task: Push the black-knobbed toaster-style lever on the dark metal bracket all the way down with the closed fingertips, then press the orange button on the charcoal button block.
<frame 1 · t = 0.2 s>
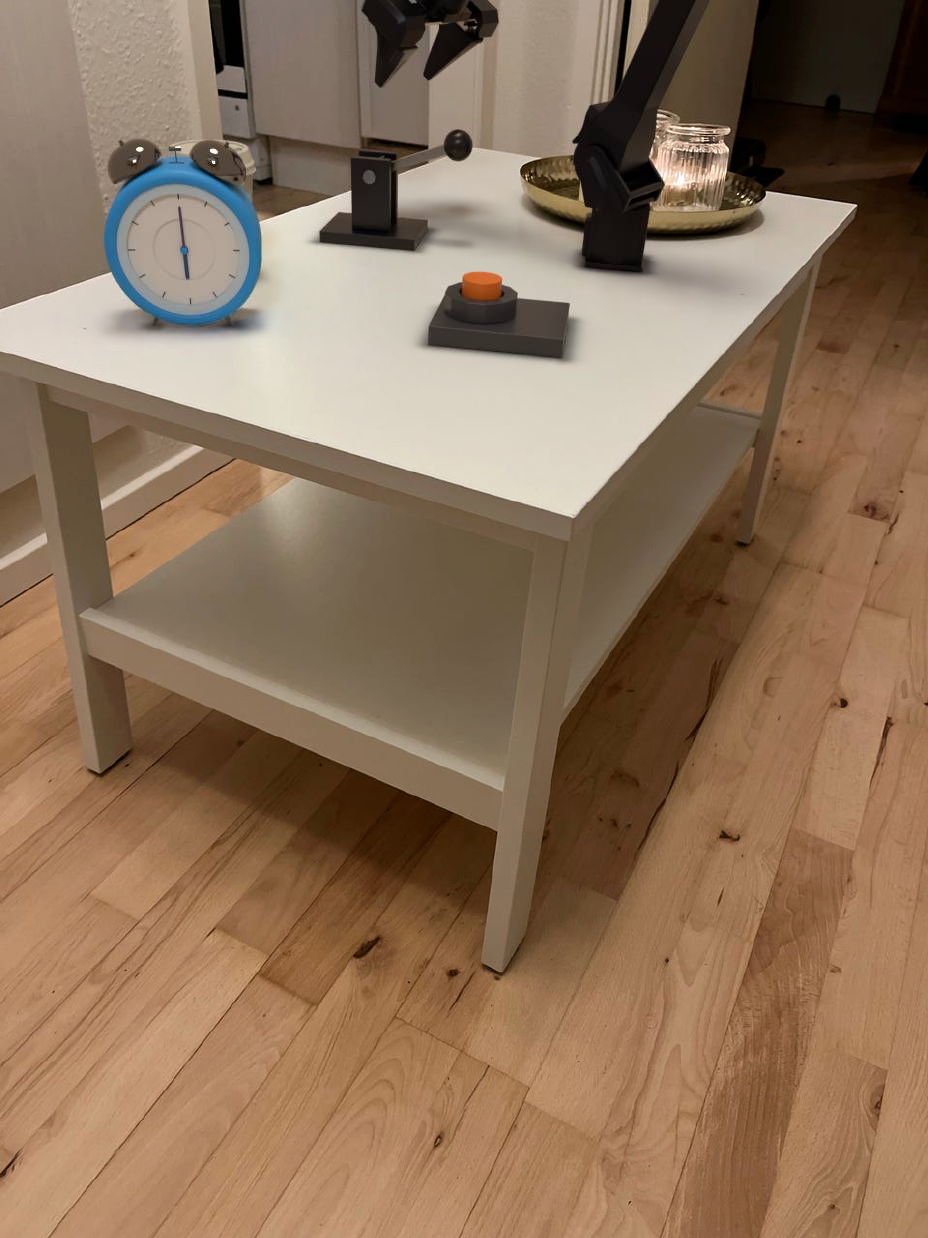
hand: (402, 81, 117), 15 cm above the table, tool tilted 30°, fingers open, 9 cm apart
coffee cup: (221, 275, 101), on the table
bracket: (375, 235, 116), on the table
button block: (500, 331, 92), on the table
alarm clock: (194, 319, 91), on the table
button: (481, 287, 89), point 4 cm above the table, slide at 0.1 cm
lever: (416, 158, 110), point 9 cm above the table, hinge at 20.0°
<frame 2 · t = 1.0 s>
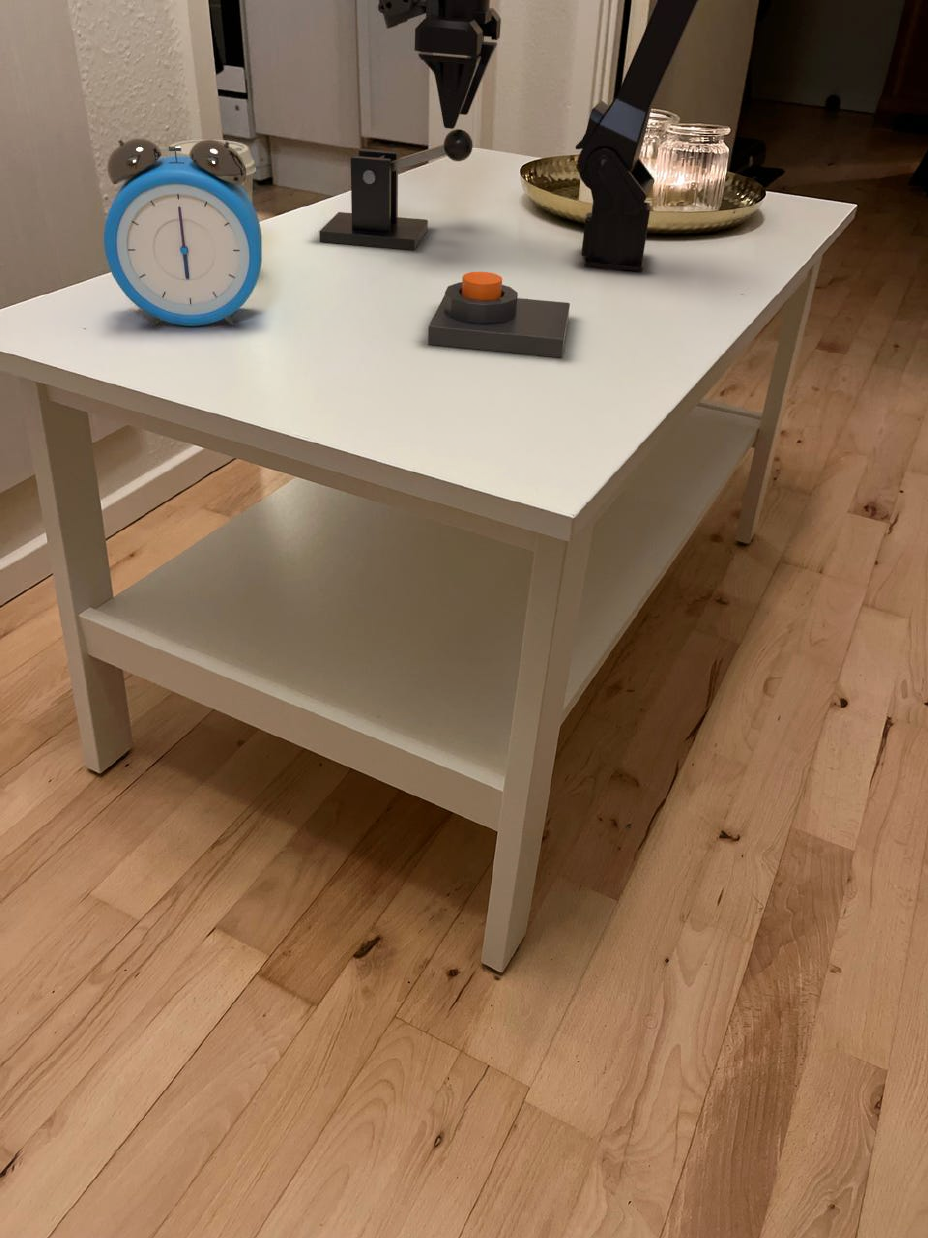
hand: (456, 120, 108), 13 cm above the table, tool pointing down, fingers open, 9 cm apart
nothing on the table moved.
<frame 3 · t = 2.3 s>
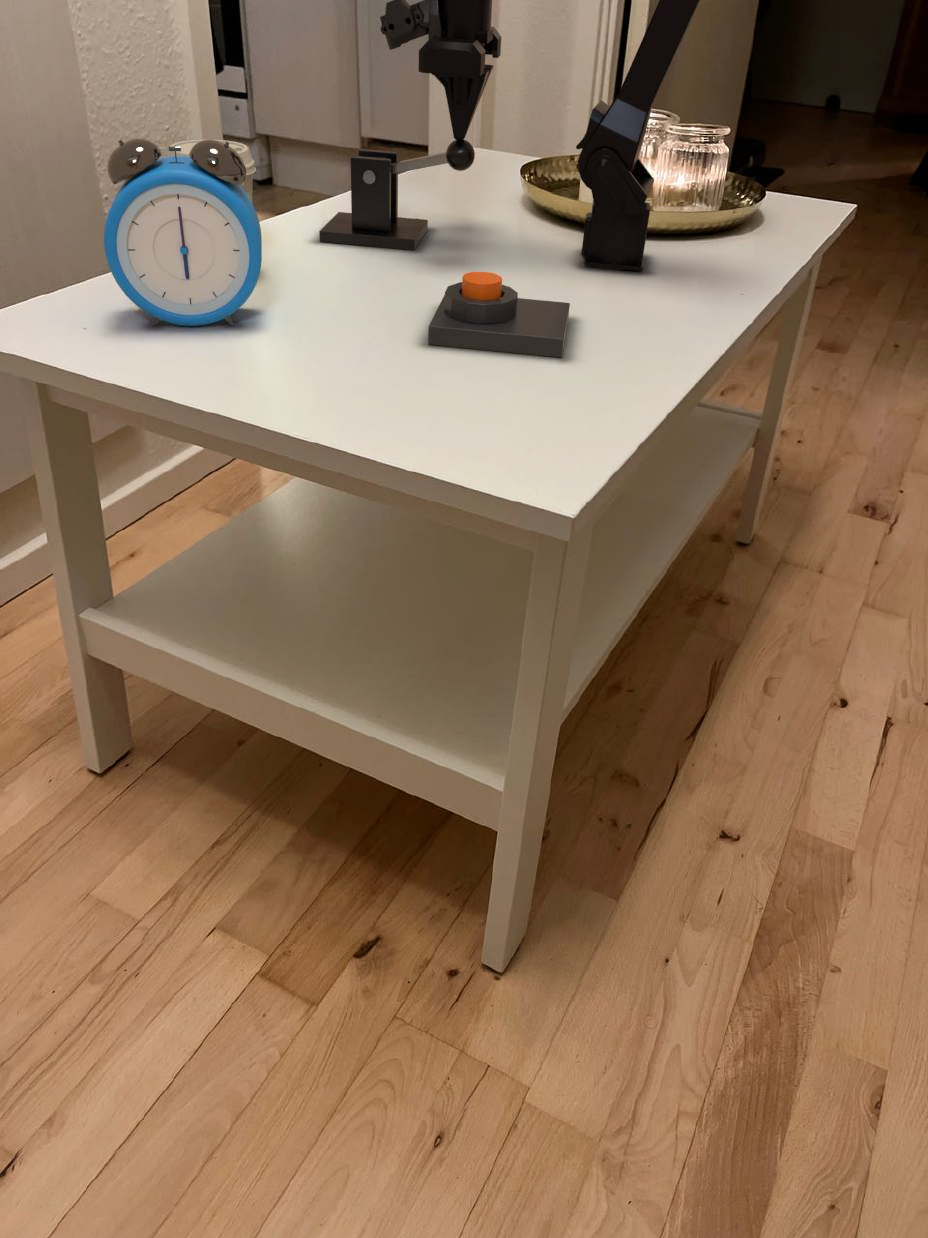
hand: (459, 138, 108), 11 cm above the table, tool pointing down, fingers closed
lever: (418, 163, 110), point 8 cm above the table, hinge at 14.2°
everything else where it was.
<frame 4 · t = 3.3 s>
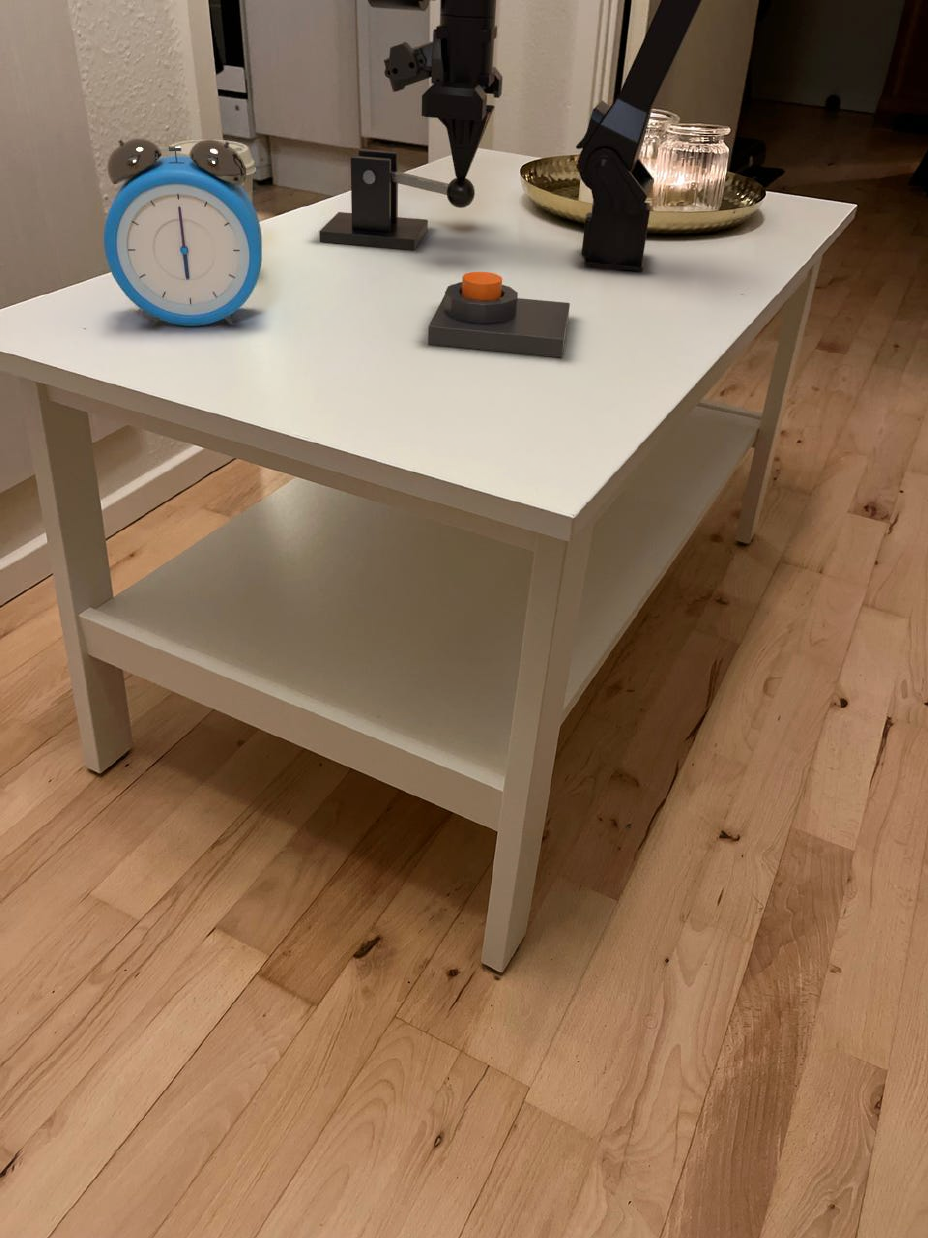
hand: (461, 177, 111), 7 cm above the table, tool pointing down, fingers closed, pressing on lever
lever: (418, 182, 112), point 6 cm above the table, hinge at -8.3°, touching gripper
everything else where it was.
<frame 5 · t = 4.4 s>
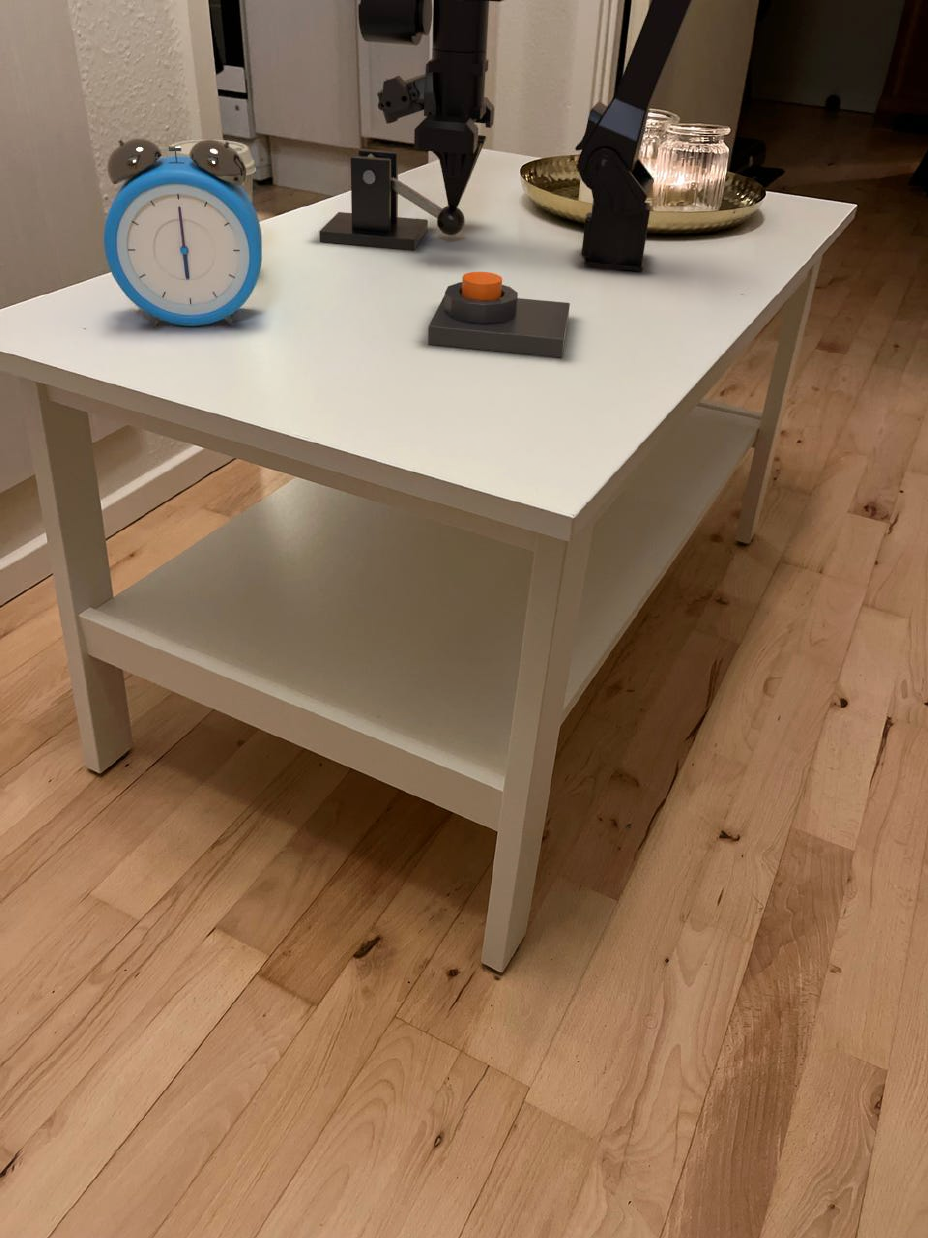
hand: (453, 205, 112), 4 cm above the table, tool pointing down, fingers closed, pressing on lever
lever: (413, 196, 113), point 5 cm above the table, hinge at -27.1°, touching gripper
everything else where it was.
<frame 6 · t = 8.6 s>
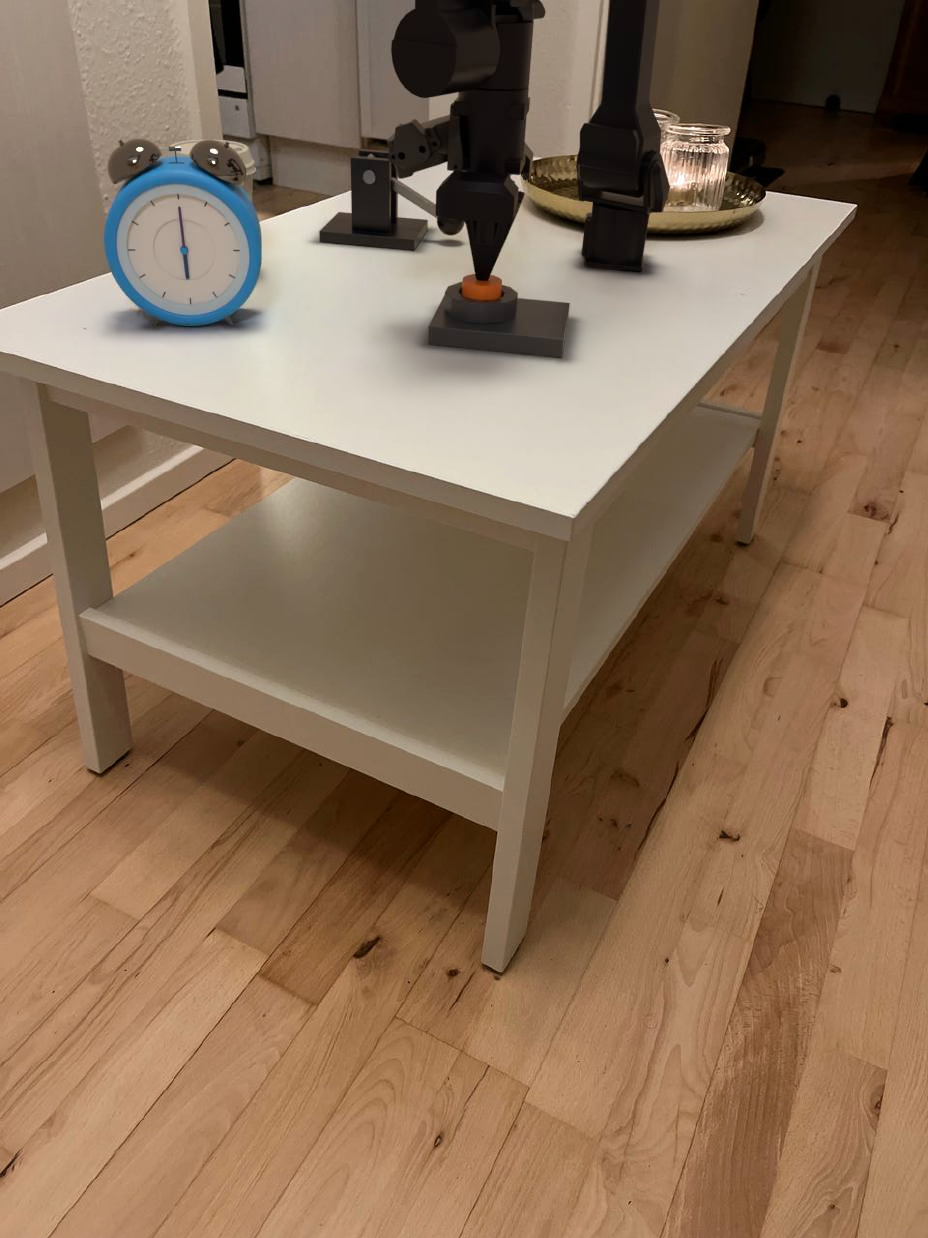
hand: (482, 279, 89), 5 cm above the table, tool pointing down, fingers closed, pressing on button
button: (481, 289, 90), point 4 cm above the table, slide at -0.1 cm, touching gripper
lever: (413, 196, 113), point 5 cm above the table, hinge at -27.2°
everything else where it was.
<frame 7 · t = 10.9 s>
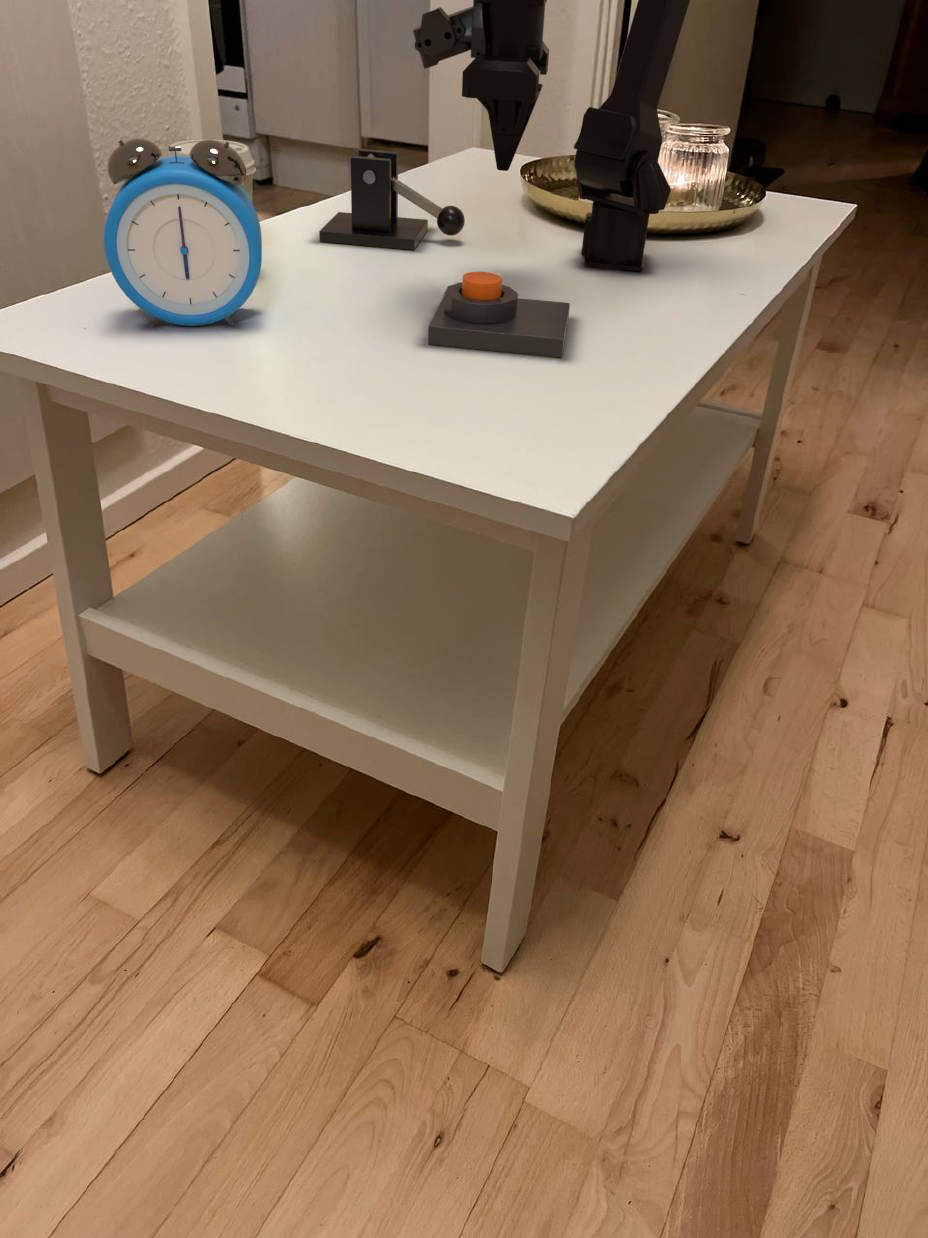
hand: (503, 169, 94), 12 cm above the table, tool pointing down, fingers closed
button: (481, 287, 89), point 4 cm above the table, slide at 0.1 cm
everything else where it was.
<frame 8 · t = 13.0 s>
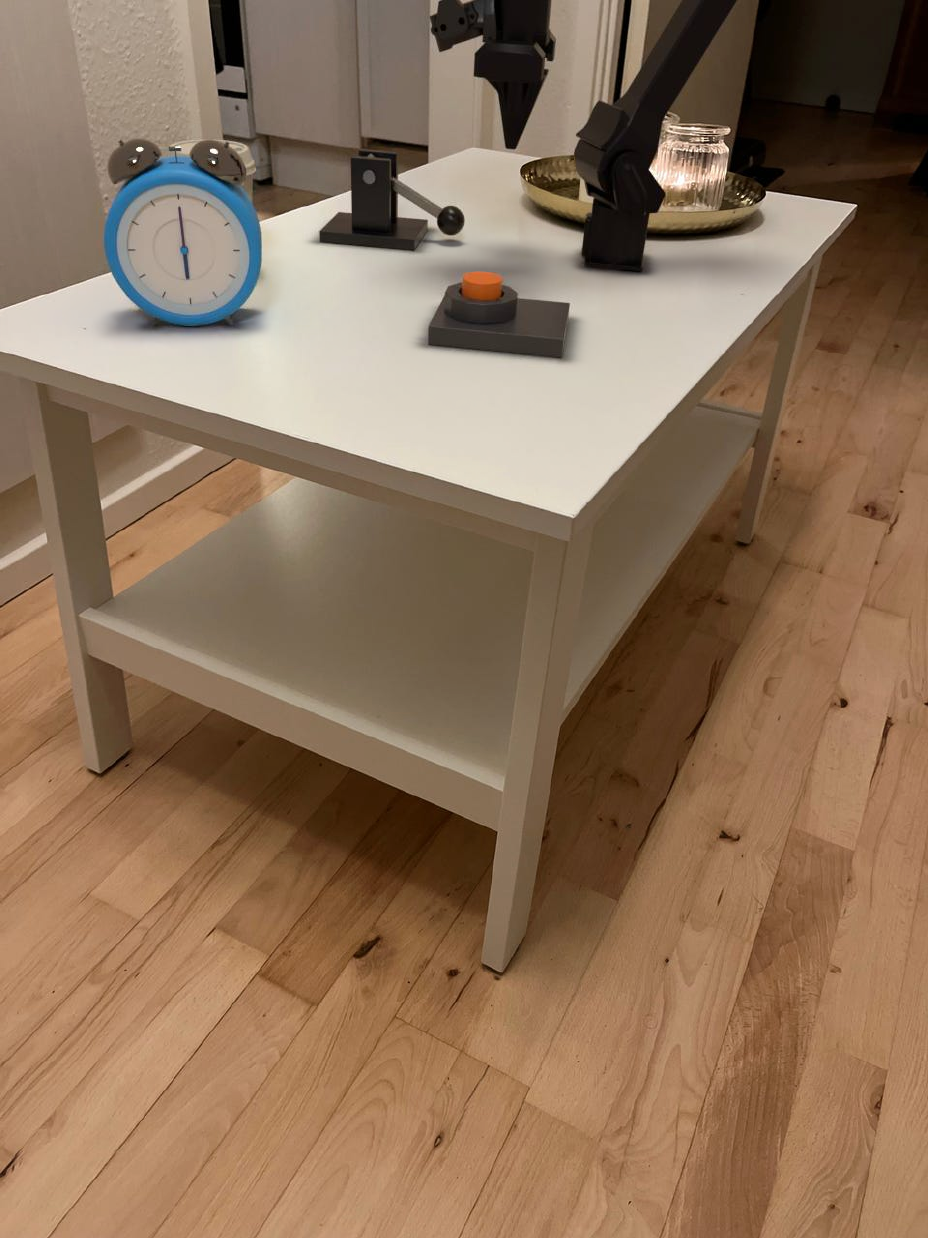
hand: (510, 148, 101), 12 cm above the table, tool pointing down, fingers closed
nothing on the table moved.
at the end: lever at -27° (first picture: +20°); button pushed in 1.1 cm at the most during the clip, back to where it started at the end; button slide at 0.1 cm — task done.
